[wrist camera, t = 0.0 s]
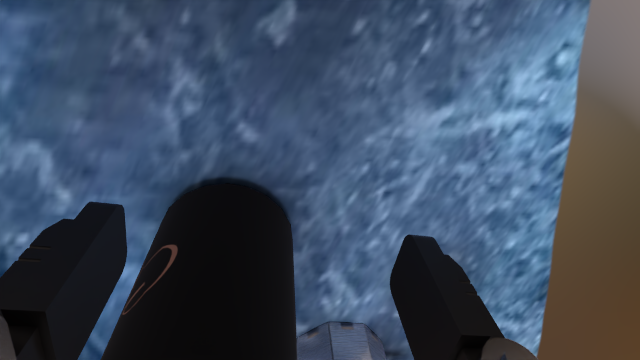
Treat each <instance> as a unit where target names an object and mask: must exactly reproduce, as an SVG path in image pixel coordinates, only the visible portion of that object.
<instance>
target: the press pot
mask: <svg viewBox="0 0 640 360" xmlns="http://www.w3.org/2000/svg"><path fill="white" fill-rule="evenodd" d="M297 360H387V359H386V356H385V352H384V348H383V344H382V341H381V340H380V339H379V338H378V337H377V336H376V335H375V333H374V332H373V331H371V330H370V329H369V328H368V327H367V326H366V325H364V324H358V323H340V322H329V323H328V322H327V323H325V324H323V325H321V326H319V327H317V328H315V329H313V330H311V331H309V332H307V333H305V334H304V335H302V336H300V337H298V338H297Z"/></svg>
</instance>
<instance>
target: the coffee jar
mask: <svg viewBox="0 0 640 360" xmlns="http://www.w3.org/2000/svg"><path fill="white" fill-rule="evenodd" d="M101 360H297V339H296V314H295V288H294V263H293V239H292V232H291V225H290V223H289V221H288V219H287V218H286V216H285V214H284V213H283V211H282V209H281V208H280V207H279V206H278V205H277V204H275V203H274V202H273V201H272V200H271V199H270V198H268V197H267V196H266V195H264V194H262V193H260V192H258V191H255V190H253V189H251V188H249V187H246V186H240V185H234V184H218V185H208V186H204V187H201V188H199V189H196V190H194V191H191V192H189V193H186V194H185V195H183V196H182V197H181V198H180V199H178V200H177V201H176V202H175V203H174V204H173V205H171V206H170V207H169V209H168V211H167V213H166V215H165V217H164V219H163V221H162V222H161V225H160V227H159V229H158V232H157V234H156V236H155V238H154V241H153V243H152V245H151V247H150V250H149V252H148V254H147V256H146V259H145V261H144V263H143V265H142V268H141V270H140V272H139V274H138V277H137V279H136V281H135V284H134V286H133V288H132V290H131V293H130V295H129V297H128V299H127V302H126V304H125V306H124V308H123V311H122V313H121V315H120V317H119V320H118V322H117V324H116V326H115V329H114V331H113V333H112V336H111V338H110V340H109V342H108V345H107V347H106V349H105V351H104V354H103V356H102V358H101Z"/></svg>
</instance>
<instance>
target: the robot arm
mask: <svg viewBox="0 0 640 360" xmlns="http://www.w3.org/2000/svg"><path fill="white" fill-rule="evenodd" d="M126 257H127V242H126V228H125V213H124V208H123V206H122V205H119V204H109V203H99V202H89V203H87V205H86V206H85V207H84V208H83V209H82V211H81V212H80V213H79V214H78V215H77V217H76V218H75V219H74V220H73V219H62V220H60V221H59V222H57V223H55V224H53V225H52V226H50V227H48V228H46V229H45V230H43V231H42V232H41V233H40V235H39V236H38V237H37V238H36V239H35V240H34V241H33V242H32V243H31V244H30V248H27V249H26V250H25V251H24V252H23V253H22V254H21V256H20V257H19V259H18V261H15V262H14V263H13V264H12V266H11V267H10V268H9V269H8V270H7V271H6V272H5V273H4V274H3V275H2V277H1V278H0V360H77V359H78V357H79V355H80V353H81V352H82V350H83V348H84V346H85V344H86V342H87V340H88V338H89V336H90V334H91V332H92V330H93V328H94V326H95V324H96V323H97V321H98V319H99V317H100V315H101V313H102V311H103V309H104V307H105V305H106V303H107V301H108V299H109V297H110V295H111V294H112V292H113V290H114V288H115V286H116V284H117V282H118V280H119V278H120V276H121V274H122V272H123V269H124V266H125V263H126ZM390 289H391V293H392V296H393V299H394V302H395V305H396V308H397V311H398V314H399V317H400V320H401V323H402V325H403V328H404V331H405V334H406V337H407V340H408V343H409V346H410V349H411V351H412V354H413V357H414V360H538V359H537V358H536V357H535V356H534V355H533V354H532V353H531V352H530V351H529V350H528V349H526V348H525V347H524V346H522V345H520V344H519V343H517V342H514V341H512V340H509V339H506V338H505V337H504V336H503V334H502V333H501V331H500V329H499V328H498V326H497V324H496V323H495V321H494V319H493V318H492V316H491V315H490V313H489V311H488V310H487V308H486V306H485V305H484V303H483V301H482V300H481V298H480V297H479V296H477V292H476V290H475V288H474V287H473V285H472V284H470V280H469V279H468V277H467V275H466V274H465V272H464V270H463V269H462V267H461V266H460V265H458V264H457V263H456V262H455V261H454V260H453V259H452V258H451V257H450V256H449V255H444V254H443V252H442V251H441V249H440V247H439V245H438V244H437V242H436V240H435V239H434V238H433V237H428V236H418V235H407V236H406V237H405V238H404V240H403V243H402V246H401V248H400V251H399V254H398V256H397V259H396V262H395V264H394V267H393V270H392V273H391V277H390Z"/></svg>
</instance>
